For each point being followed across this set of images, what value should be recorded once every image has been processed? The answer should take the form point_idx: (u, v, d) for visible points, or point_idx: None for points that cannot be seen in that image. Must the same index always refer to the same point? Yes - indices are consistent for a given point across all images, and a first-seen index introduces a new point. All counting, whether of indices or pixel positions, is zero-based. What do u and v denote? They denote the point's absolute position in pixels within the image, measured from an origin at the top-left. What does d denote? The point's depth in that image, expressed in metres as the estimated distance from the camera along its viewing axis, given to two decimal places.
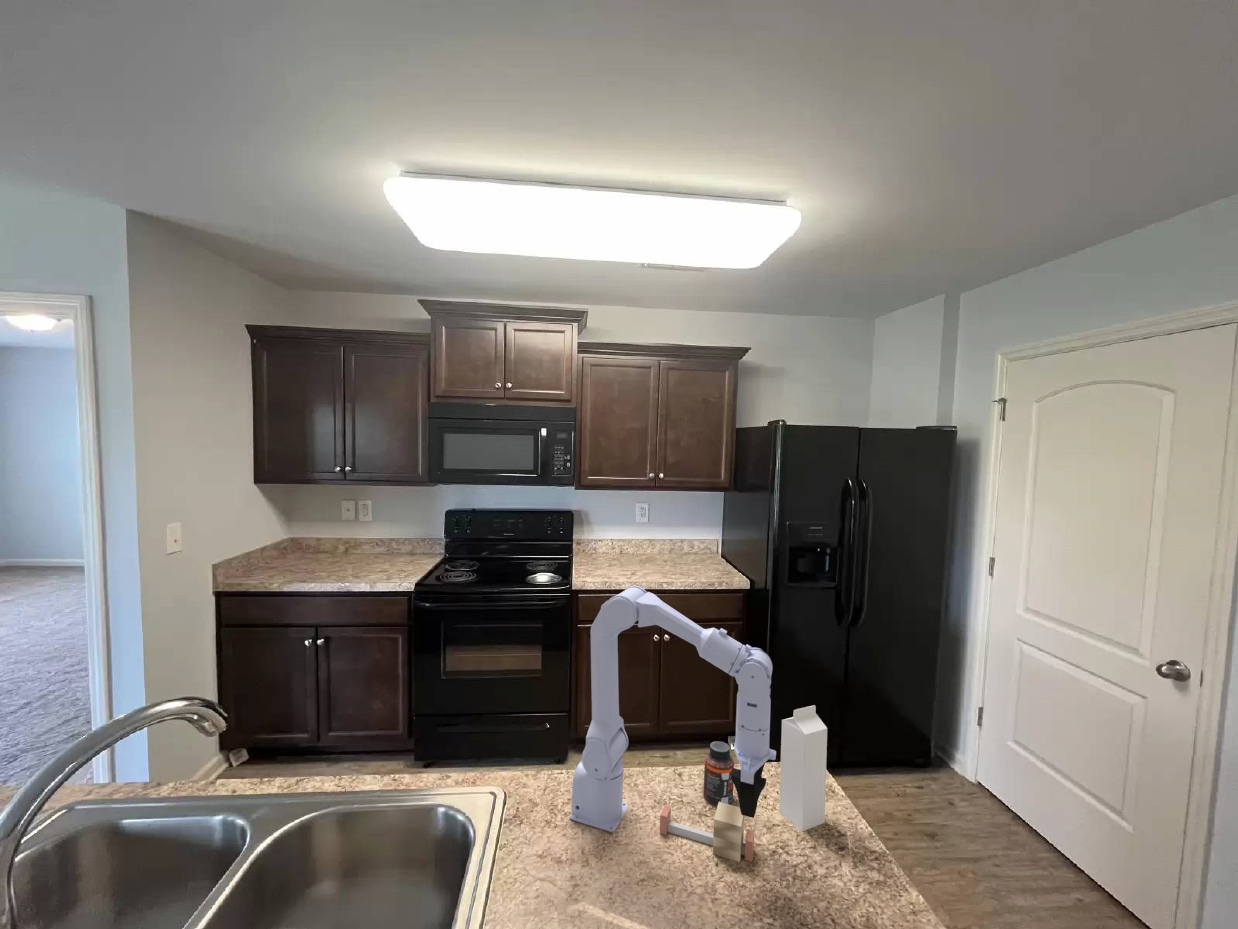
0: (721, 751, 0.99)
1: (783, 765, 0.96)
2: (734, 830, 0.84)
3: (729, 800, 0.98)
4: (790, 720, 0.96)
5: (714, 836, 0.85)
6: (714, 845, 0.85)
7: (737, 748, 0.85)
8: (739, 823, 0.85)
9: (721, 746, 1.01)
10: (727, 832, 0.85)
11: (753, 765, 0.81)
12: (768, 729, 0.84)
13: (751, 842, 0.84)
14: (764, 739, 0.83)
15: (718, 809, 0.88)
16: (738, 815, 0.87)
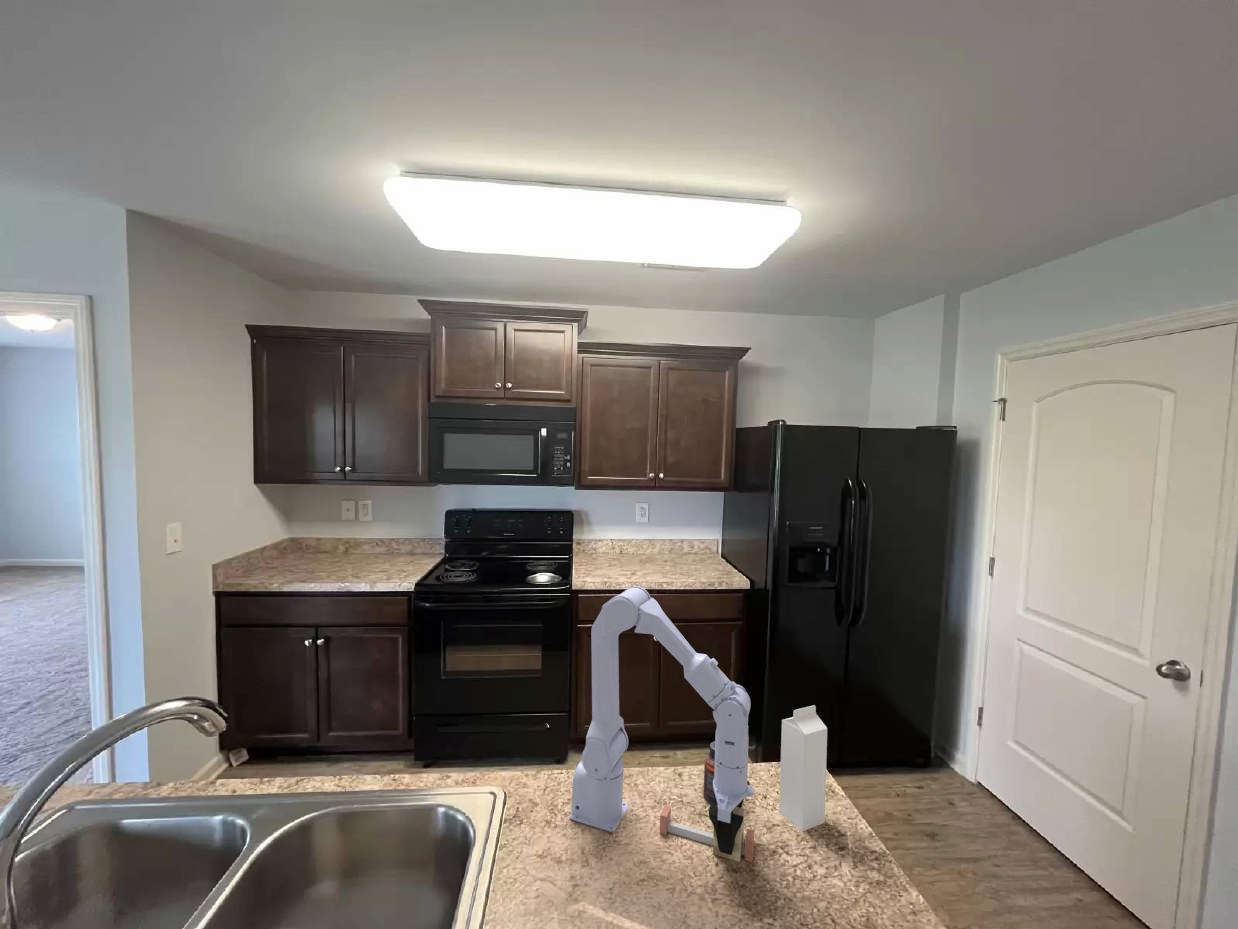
0: None
1: (783, 765, 0.96)
2: None
3: None
4: (790, 720, 0.96)
5: (714, 836, 0.85)
6: (714, 845, 0.85)
7: (716, 785, 0.86)
8: None
9: None
10: None
11: (730, 803, 0.82)
12: (746, 766, 0.85)
13: (751, 842, 0.84)
14: (742, 776, 0.85)
15: None
16: None
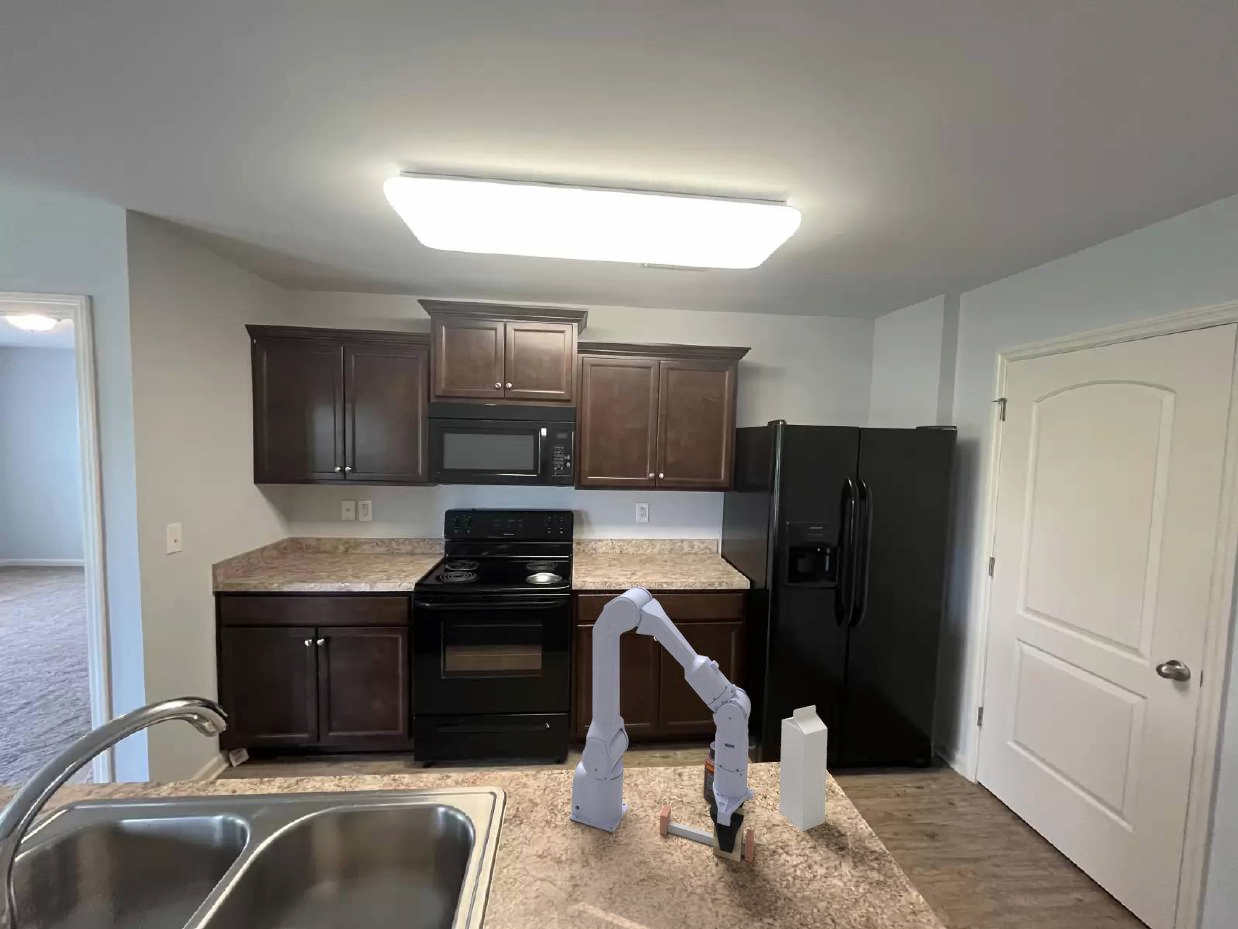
0: None
1: (783, 765, 0.96)
2: None
3: None
4: (790, 720, 0.96)
5: (714, 836, 0.85)
6: (714, 845, 0.85)
7: (715, 788, 0.86)
8: None
9: None
10: None
11: (730, 806, 0.82)
12: (746, 769, 0.85)
13: (751, 842, 0.84)
14: (742, 779, 0.85)
15: None
16: None
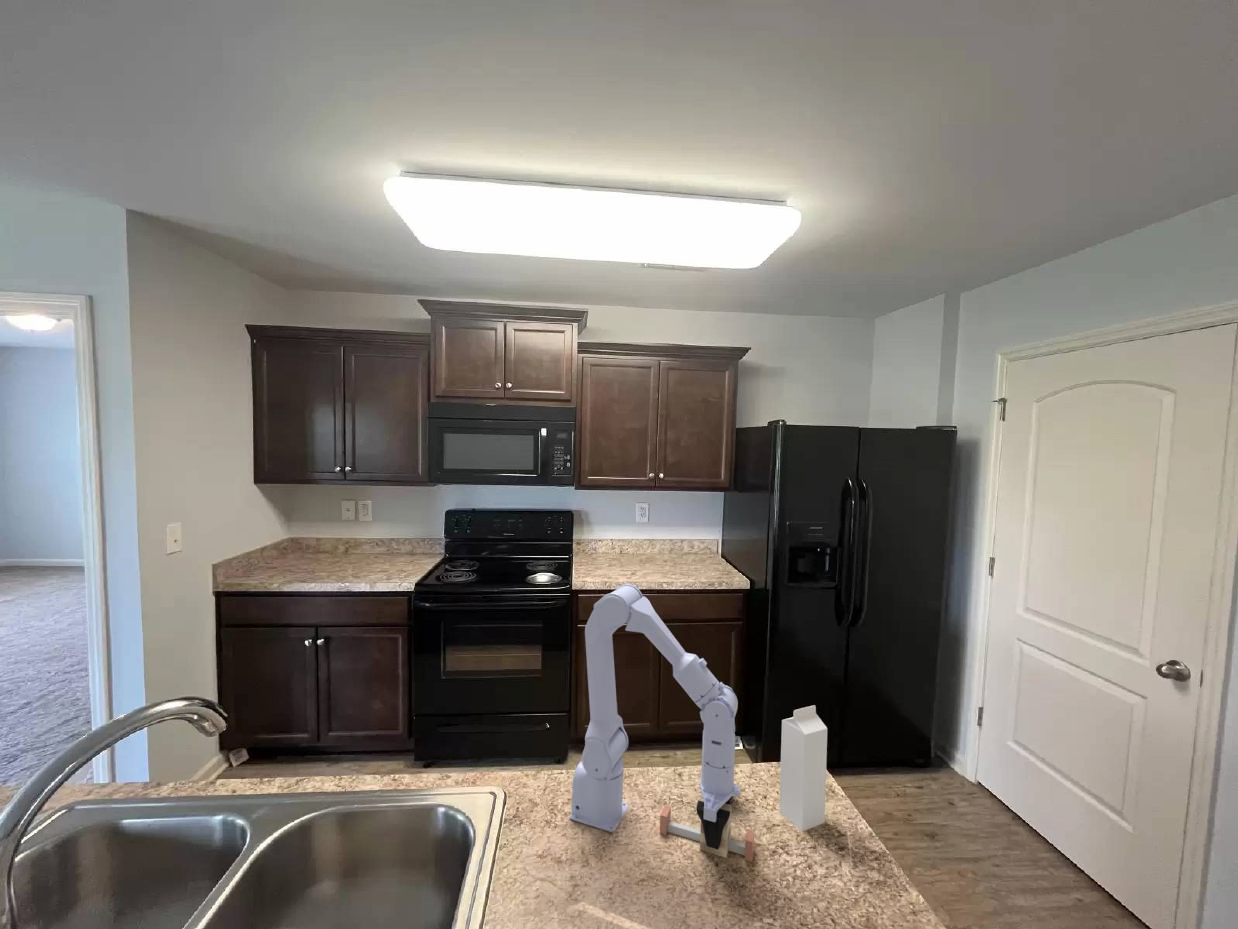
0: None
1: (783, 765, 0.96)
2: None
3: None
4: (790, 720, 0.96)
5: (701, 832, 0.86)
6: (701, 841, 0.86)
7: (702, 785, 0.87)
8: None
9: None
10: None
11: (716, 802, 0.83)
12: (732, 766, 0.86)
13: (751, 842, 0.84)
14: (728, 775, 0.85)
15: None
16: None
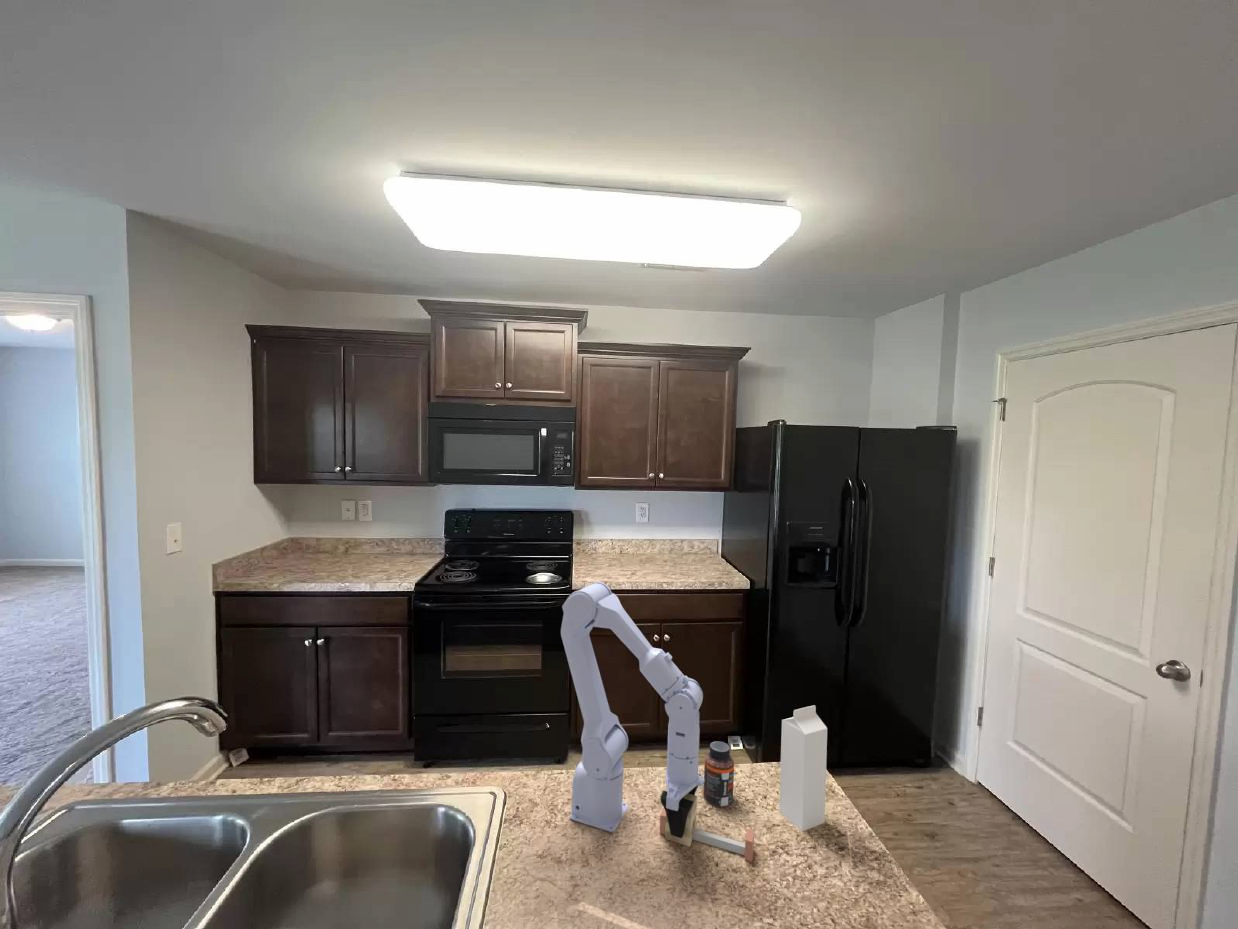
0: (721, 751, 0.99)
1: (783, 765, 0.96)
2: None
3: (729, 799, 0.98)
4: (790, 720, 0.96)
5: (666, 822, 0.89)
6: (666, 830, 0.88)
7: (667, 775, 0.89)
8: (690, 809, 0.88)
9: (721, 746, 1.01)
10: None
11: (679, 792, 0.85)
12: (696, 757, 0.89)
13: (751, 842, 0.84)
14: (692, 766, 0.88)
15: None
16: None
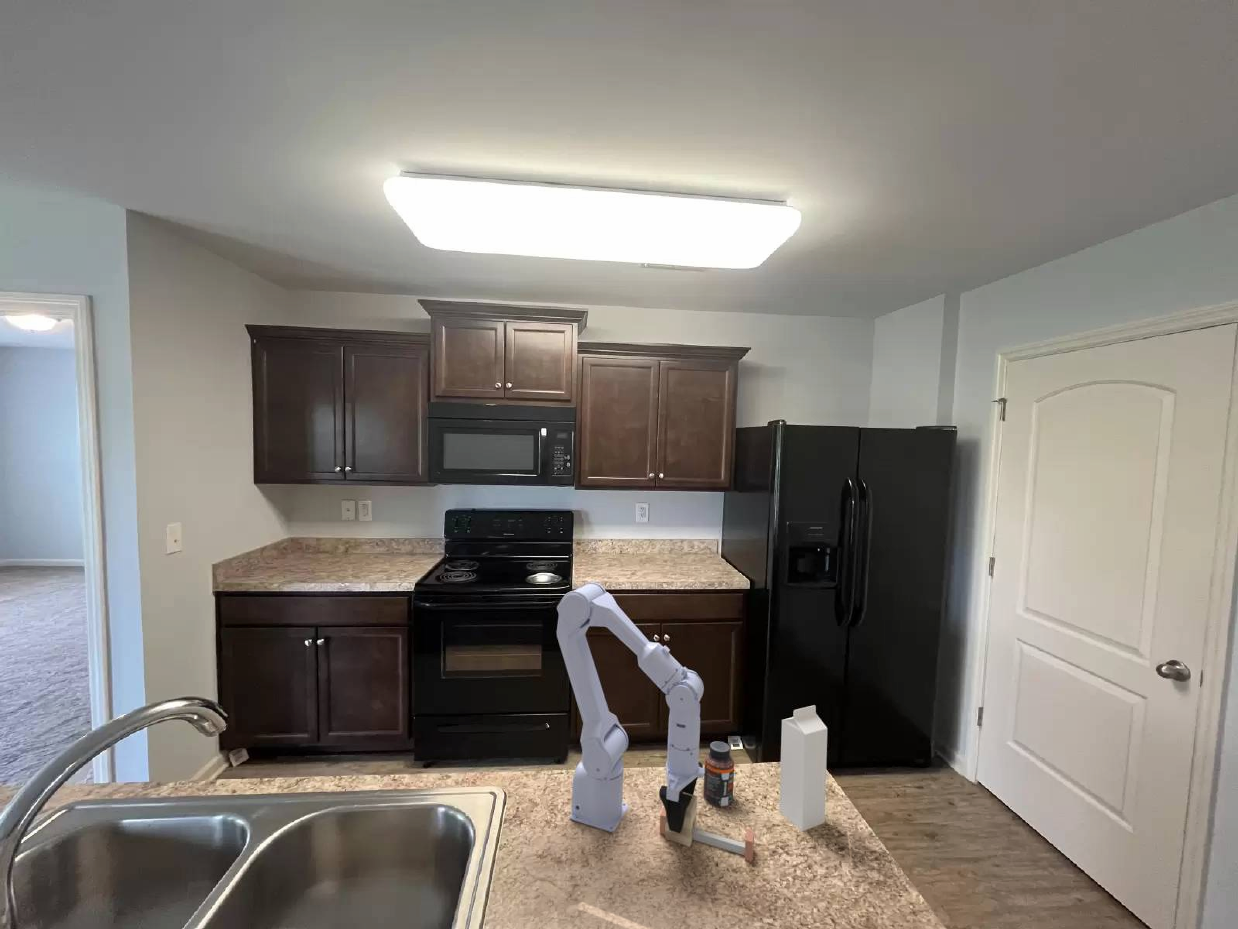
0: (721, 751, 0.99)
1: (783, 765, 0.96)
2: None
3: (729, 800, 0.98)
4: (790, 720, 0.96)
5: (666, 822, 0.89)
6: (666, 830, 0.88)
7: (668, 767, 0.89)
8: (690, 809, 0.88)
9: (721, 746, 1.01)
10: None
11: (680, 783, 0.85)
12: (697, 748, 0.89)
13: (751, 842, 0.84)
14: (692, 758, 0.88)
15: None
16: (690, 802, 0.90)
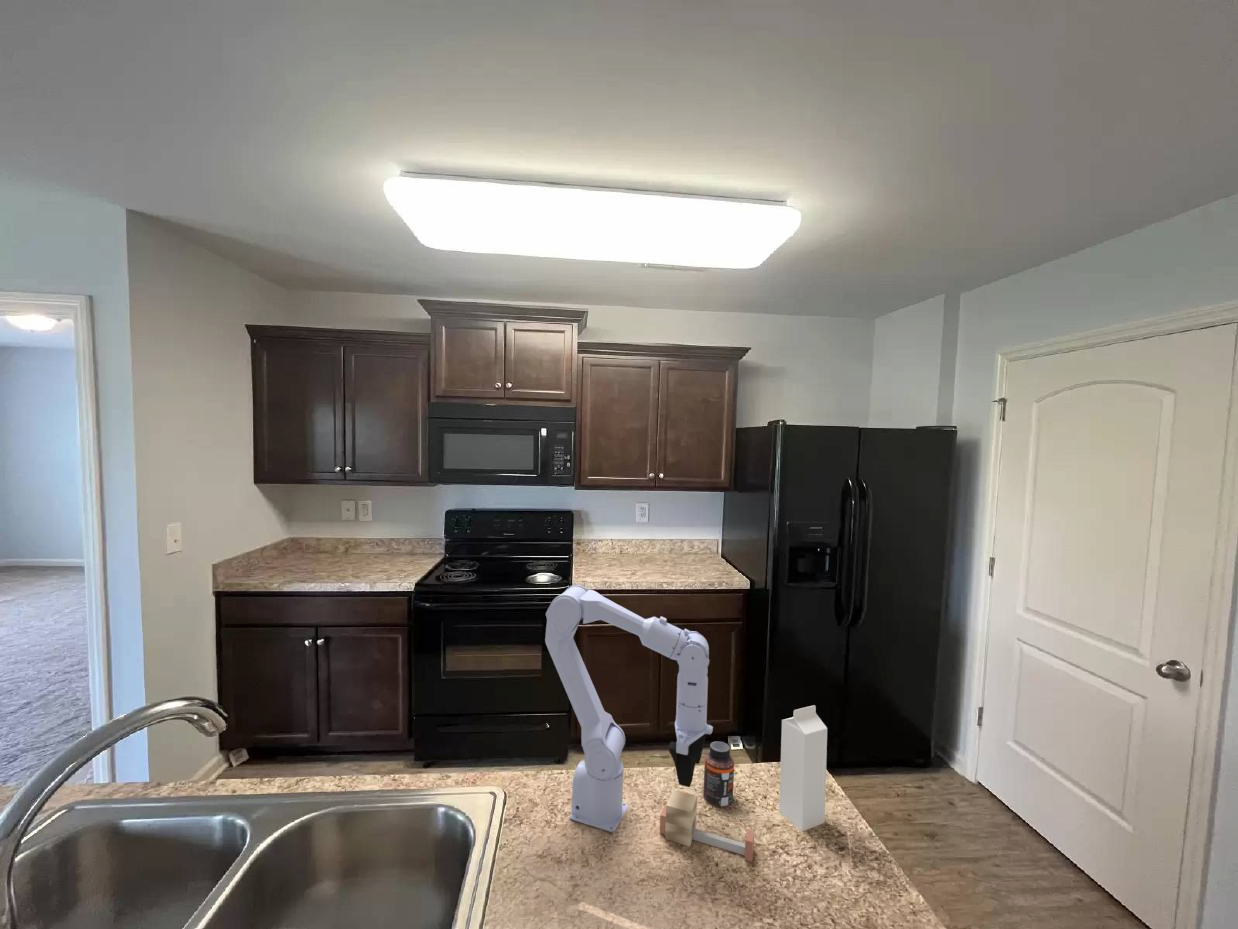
0: (721, 751, 0.99)
1: (783, 765, 0.96)
2: (684, 816, 0.87)
3: (729, 800, 0.98)
4: (790, 720, 0.96)
5: (666, 822, 0.89)
6: (666, 830, 0.88)
7: (677, 724, 0.92)
8: (690, 809, 0.88)
9: (721, 746, 1.01)
10: (678, 818, 0.88)
11: (689, 738, 0.88)
12: (705, 706, 0.91)
13: (751, 842, 0.84)
14: (701, 714, 0.90)
15: (671, 796, 0.91)
16: (690, 802, 0.90)
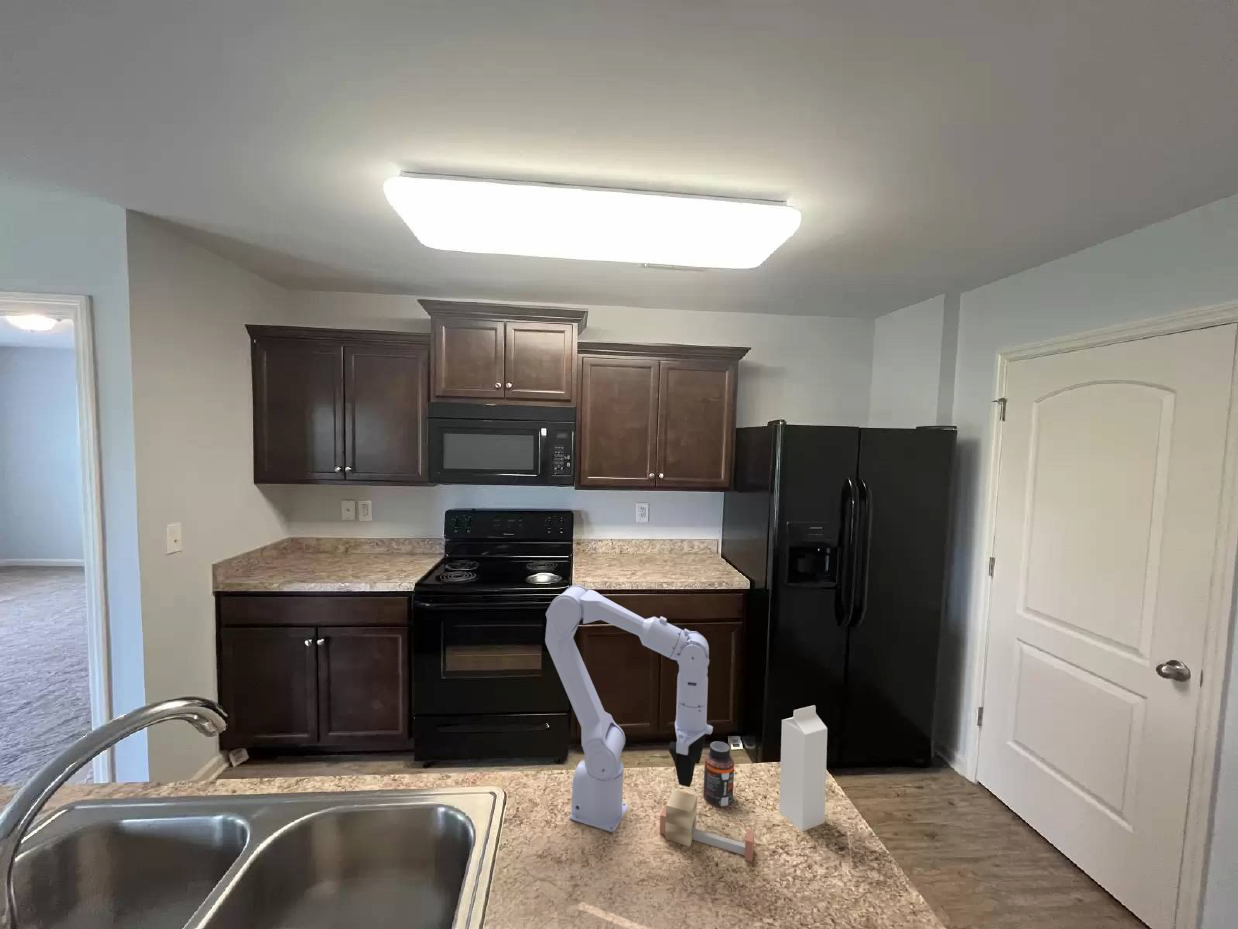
0: (721, 751, 0.99)
1: (783, 765, 0.96)
2: (684, 816, 0.87)
3: (729, 800, 0.98)
4: (790, 720, 0.96)
5: (666, 822, 0.89)
6: (666, 830, 0.88)
7: (677, 724, 0.92)
8: (690, 809, 0.88)
9: (721, 746, 1.01)
10: (678, 818, 0.88)
11: (689, 738, 0.88)
12: (705, 706, 0.91)
13: (751, 842, 0.84)
14: (701, 714, 0.90)
15: (671, 796, 0.91)
16: (690, 802, 0.90)
